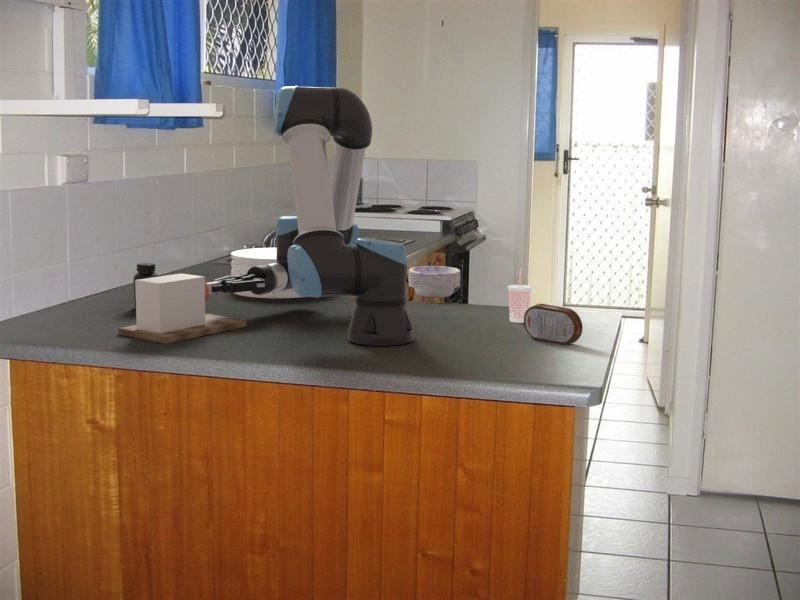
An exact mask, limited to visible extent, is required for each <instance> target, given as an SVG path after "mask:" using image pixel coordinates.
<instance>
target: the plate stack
mask: <svg viewBox="0 0 800 600" xmlns="http://www.w3.org/2000/svg"><path fill="white" fill-rule="evenodd" d="M276 256H277V247H255V248H254V247H253V248H245V249H244V248H243V249H238V250H234V251H232V252H230V258H231V259H232V260H231V262H230V266H231V270H230V273H231V274H230V275H232V276H233V277H234V276H238V275H241V274H247V272H248V270H249V269H250V268H251V267H253V266H259V265H265V264H271V263H276V258H277V257H276ZM233 294H235V295H237V296H242V297H249V298H260V299H291V298H292V299H295V298H303V297H302V296H300V295H298V294H297V293H296V292H295V290H294V289H287V290H281V291H276V292H275V294H272V293H267V294H261V295H256V294H253V293H252V292H251V291H245V292H236V293H233Z"/></svg>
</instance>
